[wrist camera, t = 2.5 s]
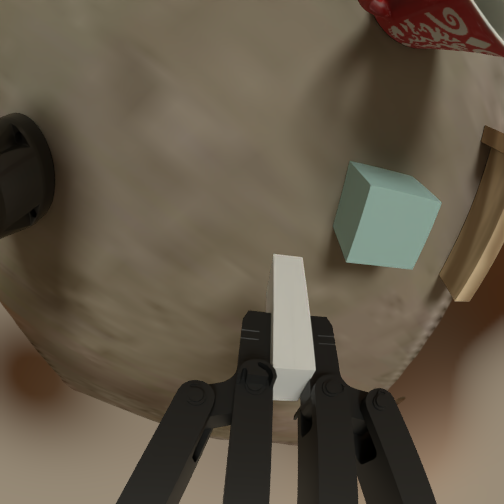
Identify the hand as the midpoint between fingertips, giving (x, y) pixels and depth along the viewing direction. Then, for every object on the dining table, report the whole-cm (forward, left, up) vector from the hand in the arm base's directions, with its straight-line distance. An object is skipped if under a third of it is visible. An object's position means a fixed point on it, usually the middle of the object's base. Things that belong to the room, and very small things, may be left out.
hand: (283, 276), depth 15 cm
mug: (+8, +19, -13) cm, 24 cm away
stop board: (+24, +2, -13) cm, 27 cm away
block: (+10, 0, -13) cm, 16 cm away
